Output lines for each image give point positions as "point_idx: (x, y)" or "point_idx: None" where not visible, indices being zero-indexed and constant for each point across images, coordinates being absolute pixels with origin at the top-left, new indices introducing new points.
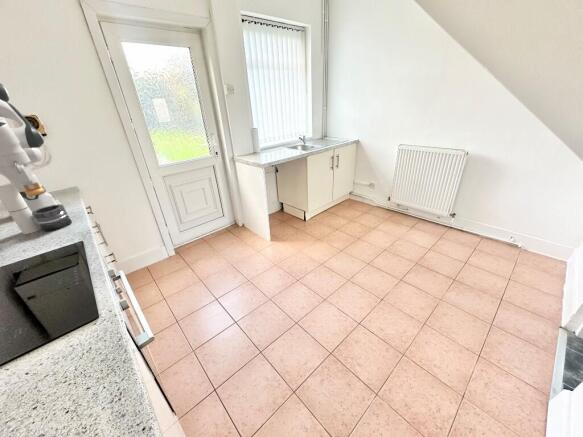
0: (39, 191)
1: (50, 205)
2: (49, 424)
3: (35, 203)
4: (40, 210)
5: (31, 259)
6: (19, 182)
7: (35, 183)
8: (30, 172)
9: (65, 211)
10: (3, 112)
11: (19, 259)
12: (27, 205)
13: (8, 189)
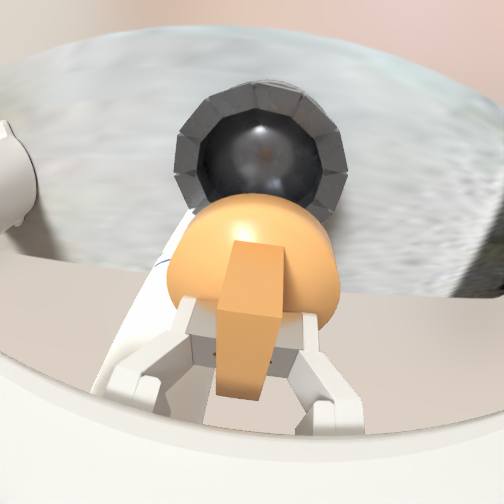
0: (333, 258)
1: (8, 152)
2: None
3: (4, 198)
4: (213, 201)
5: (485, 259)
6: None
7: (276, 331)
8: (43, 445)
9: (288, 87)
10: None
11: (454, 276)
12: (6, 219)
13: (195, 416)
